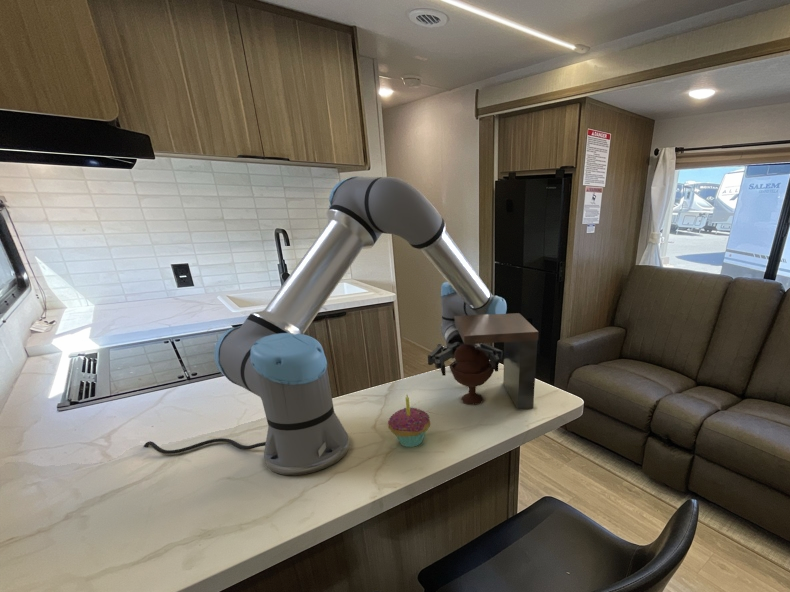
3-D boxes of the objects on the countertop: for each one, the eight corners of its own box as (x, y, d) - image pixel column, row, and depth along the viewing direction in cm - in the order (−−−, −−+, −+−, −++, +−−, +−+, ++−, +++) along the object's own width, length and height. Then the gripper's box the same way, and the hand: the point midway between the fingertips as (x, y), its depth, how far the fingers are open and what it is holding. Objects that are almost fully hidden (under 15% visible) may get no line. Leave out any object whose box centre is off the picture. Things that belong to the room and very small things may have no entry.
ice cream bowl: (475, 414, 96) (475, 355, 90) (442, 400, 102) (439, 345, 96) (502, 398, 104) (503, 343, 97) (469, 386, 110) (468, 334, 104)
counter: (465, 416, 95) (464, 335, 87) (456, 387, 109) (454, 316, 101) (533, 409, 99) (538, 331, 91) (516, 382, 113) (519, 313, 105)
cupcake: (433, 449, 82) (430, 397, 77) (390, 455, 80) (384, 402, 75) (428, 427, 90) (425, 379, 85) (389, 432, 88) (384, 383, 83)
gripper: (498, 350, 124) (517, 378, 106) (417, 355, 119) (421, 386, 100) (499, 327, 121) (518, 351, 103) (415, 331, 116) (419, 358, 97)
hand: (470, 368), depth 101 cm, fingers open, 13 cm apart
